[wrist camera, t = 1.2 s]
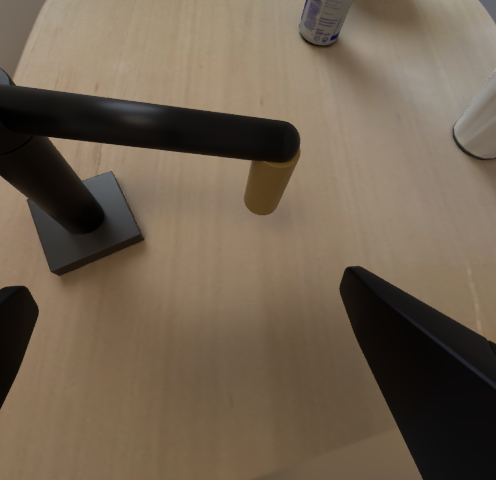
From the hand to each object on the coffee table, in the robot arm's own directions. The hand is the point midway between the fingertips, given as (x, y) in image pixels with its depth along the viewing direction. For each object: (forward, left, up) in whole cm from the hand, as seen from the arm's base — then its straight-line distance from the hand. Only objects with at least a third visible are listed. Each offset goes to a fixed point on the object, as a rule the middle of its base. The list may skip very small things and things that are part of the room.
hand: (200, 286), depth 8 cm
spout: (+9, -1, -8) cm, 12 cm away
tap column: (+13, +5, -15) cm, 20 cm away
